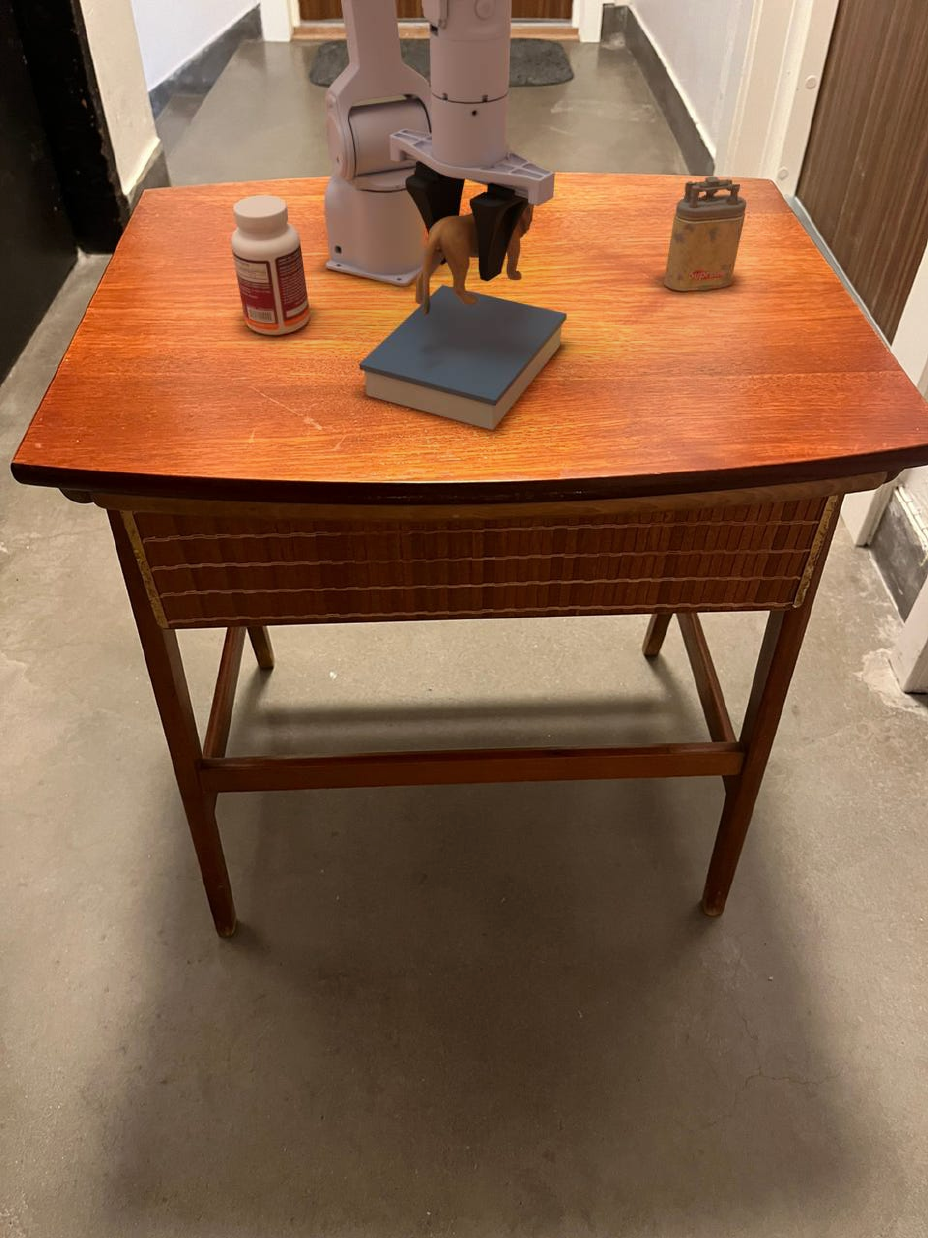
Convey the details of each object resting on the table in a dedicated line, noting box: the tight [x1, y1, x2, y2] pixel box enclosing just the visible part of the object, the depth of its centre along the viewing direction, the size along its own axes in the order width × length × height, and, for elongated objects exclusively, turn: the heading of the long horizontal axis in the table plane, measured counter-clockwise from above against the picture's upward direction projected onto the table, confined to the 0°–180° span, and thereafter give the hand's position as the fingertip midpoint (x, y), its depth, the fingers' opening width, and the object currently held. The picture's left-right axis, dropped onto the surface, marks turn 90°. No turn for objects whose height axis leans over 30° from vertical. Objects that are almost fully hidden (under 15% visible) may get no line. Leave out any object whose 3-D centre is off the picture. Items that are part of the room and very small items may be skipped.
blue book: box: [358, 284, 568, 431], centre depth 86 cm, size 13×16×3 cm
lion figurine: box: [414, 203, 535, 315], centre depth 80 cm, size 15×5×9 cm, turn 146°
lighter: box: [662, 176, 747, 292], centre depth 96 cm, size 7×4×10 cm, turn 102°
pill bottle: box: [230, 194, 311, 336], centre depth 90 cm, size 6×6×11 cm
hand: (468, 268), depth 81 cm, fingers closed on lion figurine, 4 cm apart
